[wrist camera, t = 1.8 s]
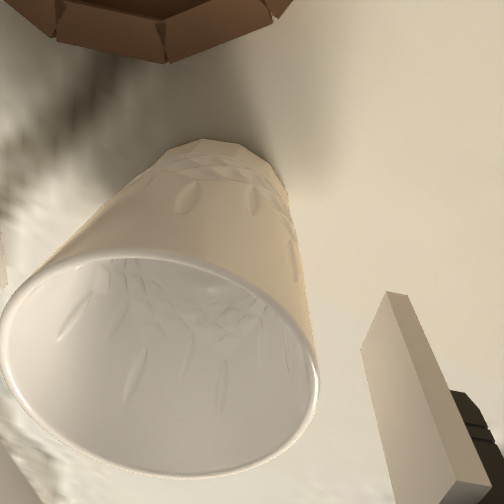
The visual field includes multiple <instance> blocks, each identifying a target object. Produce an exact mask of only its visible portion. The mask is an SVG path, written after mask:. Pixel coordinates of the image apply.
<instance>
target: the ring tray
mask: <svg viewBox="0 0 504 504" xmlns="http://www.w3.org/2000/svg"><path fill="white" fill-rule="evenodd" d="M4 1H5V2H7V3H8V4H9V5H10V6H12V7H13V8H14V9H15V10H16V11H18V12H19V13H20V14H21V15H23V16H24V17H25V18H26V19H27V20H29V21H30V22H31V23H32V24H33V25H35V26H36V27H37V28H38V29H40V30H41V31H42V32H43V33H44V34H46V35H47V36H48V37H49V38H54V37H57V42H62V43H66V44H71V45H76V46H81V47H85V48H90V49H95V50H99V51H104V52H109V53H113V54H118V55H123V56H127V57H132V58H137V59H141V60H146V61H151V62H155V63H160V64H165V63H167V62H170V64H171V63H173V62H176V61H179V60H181V59H184V58H186V57H189V56H191V55H194V54H196V53H199V52H202V51H204V50H207V49H209V48H212V47H214V46H217V45H219V44H222V43H225V42H227V41H230V40H232V39H235V38H237V37H240V36H242V35H245V34H248V33H250V32H253V31H255V30H258V29H260V28H263V27H266V26H268V25H271V24H272V23H273V20H272V17H271V16H273V15H274V16H275V17H276V18H277V19H279V18H280V16H281V15H282V14H283V12H284V11H285V10H286V9H287V7H288V6H289V5H290V4H291V2H292V1H293V0H4Z"/></svg>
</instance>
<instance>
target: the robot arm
mask: <svg viewBox="0 0 504 504" xmlns="http://www.w3.org/2000/svg"><path fill="white" fill-rule="evenodd" d="M7 284H8V278H7V271H6V263H5V256H4V248H3V241H2V233H1V225H0V291H1V290H2V289H3V288H4V287H5V286H6V285H7ZM360 351H361V355H362V359H363V364H364V368H365V372H366V376H367V381H368V385H369V389H370V394H371V398H372V402H373V407H374V411H375V415H376V419H377V424H378V428H379V432H380V437H381V441H382V445H383V449H384V454H385V458H386V462H387V467H388V471H389V475H390V479H391V484H392V488H393V492H394V497H395V501H396V504H504V458H503V456H502V454H501V452H500V450H499V448H498V446H497V445H496V444H495V440H494V438H493V436H492V434H491V432H490V430H488V426H487V424H486V422H485V420H484V418H483V416H482V414H481V412H480V410H479V408H478V407H477V406H476V405H475V404H474V403H473V402H472V400H471V399H470V398H469V397H468V396H467V395H466V394H465V393H463V392H457V391H452V390H449V388H448V386H447V383H446V381H445V379H444V377H443V374H442V372H441V370H440V367H439V365H438V363H437V361H436V358H435V356H434V354H433V352H432V349H431V347H430V345H429V343H428V340H427V338H426V336H425V334H424V331H423V329H422V327H421V325H420V322H419V320H418V318H417V316H416V313H415V311H414V309H413V307H412V304H411V302H410V300H409V298H408V295H403V294H398V293H393V292H388V291H386V292H385V294H384V297H383V299H382V301H381V304H380V306H379V308H378V310H377V313H376V315H375V317H374V320H373V322H372V324H371V326H370V329H369V331H368V333H367V336H366V338H365V340H364V342H363V345H362V347H361V349H360Z"/></svg>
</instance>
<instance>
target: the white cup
mask: <svg viewBox="0 0 504 504" xmlns="http://www.w3.org/2000/svg"><path fill="white" fill-rule="evenodd" d="M0 368H1V371H2V374H3V377H4V379H5V381H6V383H7V385H8V387H9V389H10V391H11V392H12V394H13V396H14V397H15V399H16V400H17V401H18V403H19V404H20V405H21V407H22V408H23V409H24V410H25V411H26V413H27V414H28V415H29V416H30V417H31V418H32V419H33V420H34V421H35V422H36V423H37V424H38V425H40V426H41V427H42V428H43V429H44V430H45V431H47V432H48V433H49V434H50V435H52V436H53V437H55V438H56V439H57V440H59V441H60V442H62V443H63V444H65V445H67V446H68V447H70V448H72V449H73V450H75V451H77V452H79V453H81V454H83V455H85V456H87V457H89V458H91V459H94V460H96V461H98V462H101V463H103V464H106V465H109V466H112V467H115V468H118V469H121V470H124V471H128V472H132V473H136V474H141V475H146V476H152V477H159V478H168V479H206V478H215V477H222V476H227V475H232V474H236V473H240V472H243V471H246V470H249V469H252V468H255V467H257V466H259V465H262V464H264V463H266V462H268V461H270V460H272V459H273V458H275V457H277V456H278V455H280V454H281V453H283V452H284V451H285V450H287V449H288V448H289V447H290V446H291V445H292V444H294V443H295V442H296V441H297V440H298V438H299V437H300V436H301V435H302V434H303V432H304V431H305V430H306V428H307V427H308V425H309V424H310V422H311V420H312V418H313V416H314V413H315V411H316V408H317V404H318V400H319V394H320V373H319V367H318V361H317V355H316V349H315V343H314V337H313V330H312V324H311V318H310V312H309V305H308V299H307V292H306V285H305V279H304V272H303V266H302V260H301V255H300V251H299V246H298V240H297V236H296V230H295V227H294V224H293V221H292V218H291V215H290V209H289V201H288V194H287V192H286V190H285V189H284V187H283V185H282V184H281V182H280V180H279V179H278V177H277V175H276V174H275V172H274V170H273V169H272V167H271V165H270V164H269V163H267V162H266V161H264V160H263V159H261V158H260V157H258V156H257V155H255V154H254V153H252V152H251V151H249V150H248V149H246V148H245V147H243V146H242V145H240V144H236V143H229V142H223V141H216V140H209V139H199V140H196V141H193V142H190V143H187V144H184V145H181V146H178V147H175V148H172V149H169V150H167V151H166V152H165V153H164V154H163V155H162V156H161V158H160V159H159V160H158V161H157V162H156V163H155V164H154V165H153V166H151V167H150V168H149V169H147V170H145V171H144V172H142V173H140V174H139V175H137V176H136V177H135V178H134V179H133V180H132V181H131V182H129V183H128V184H127V185H126V186H125V187H124V188H122V189H121V190H120V191H119V192H118V193H117V194H116V195H115V196H114V197H112V198H111V199H110V200H109V201H108V202H106V203H105V204H104V205H103V206H102V207H101V208H100V209H99V210H98V211H97V212H96V213H95V214H94V215H93V216H92V217H91V218H90V219H89V220H88V221H87V222H86V223H85V224H84V225H83V226H82V227H81V228H80V229H79V230H78V231H77V232H76V233H75V234H74V235H73V236H72V237H70V238H69V239H68V240H67V241H66V242H65V243H64V244H63V245H62V246H61V247H60V248H59V249H58V250H57V251H56V252H55V253H54V254H53V255H52V256H51V257H50V258H49V259H48V260H47V261H46V262H45V263H43V264H42V265H41V266H40V267H39V268H38V269H37V270H36V271H35V272H34V273H33V274H32V275H31V276H30V277H29V278H28V279H27V280H26V281H25V282H24V283H23V284H22V285H21V286H20V287H19V288H18V289H17V290H16V291H15V292H14V294H13V295H12V296H11V298H10V299H9V301H8V302H7V304H6V306H5V308H4V310H3V312H2V315H1V318H0Z"/></svg>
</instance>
